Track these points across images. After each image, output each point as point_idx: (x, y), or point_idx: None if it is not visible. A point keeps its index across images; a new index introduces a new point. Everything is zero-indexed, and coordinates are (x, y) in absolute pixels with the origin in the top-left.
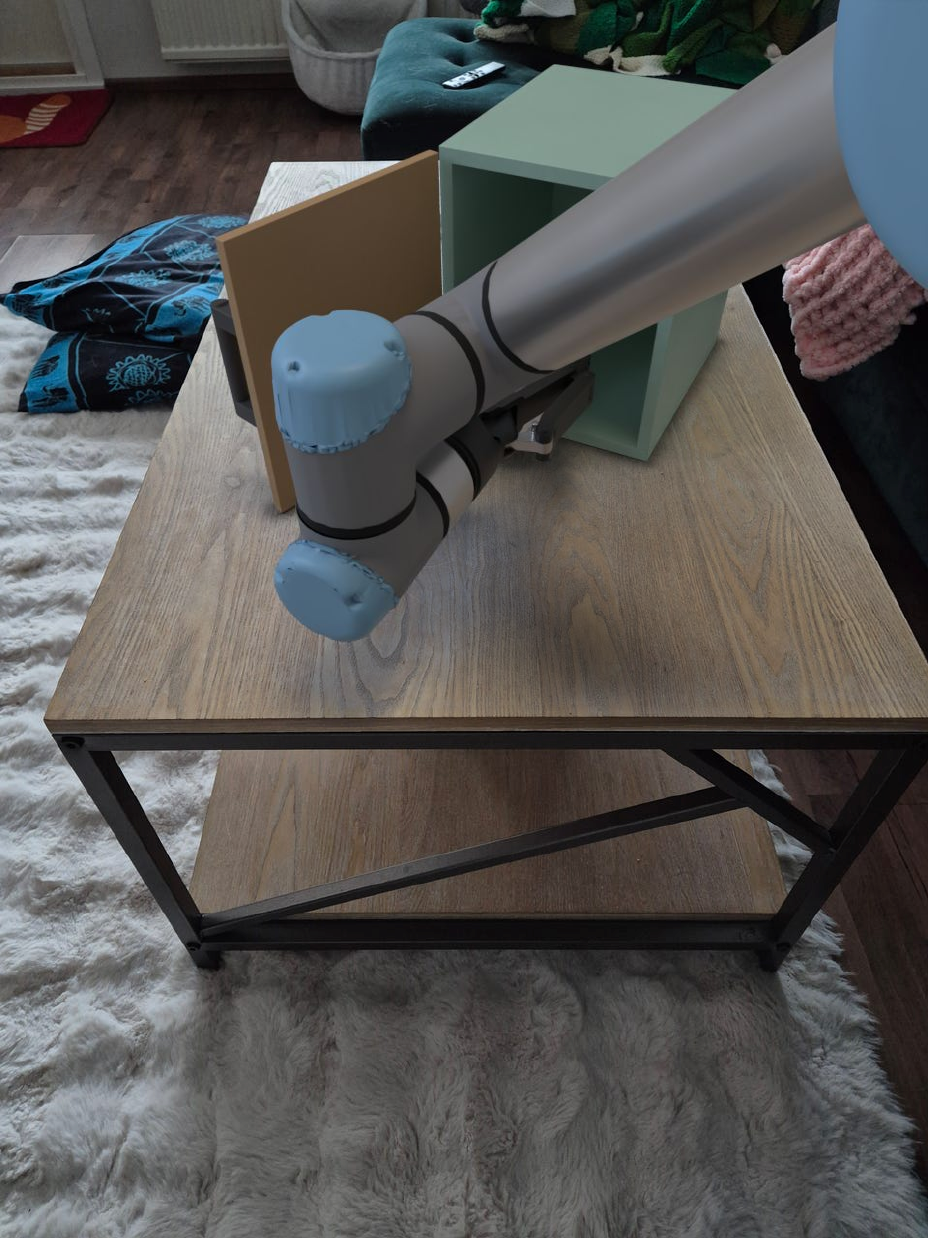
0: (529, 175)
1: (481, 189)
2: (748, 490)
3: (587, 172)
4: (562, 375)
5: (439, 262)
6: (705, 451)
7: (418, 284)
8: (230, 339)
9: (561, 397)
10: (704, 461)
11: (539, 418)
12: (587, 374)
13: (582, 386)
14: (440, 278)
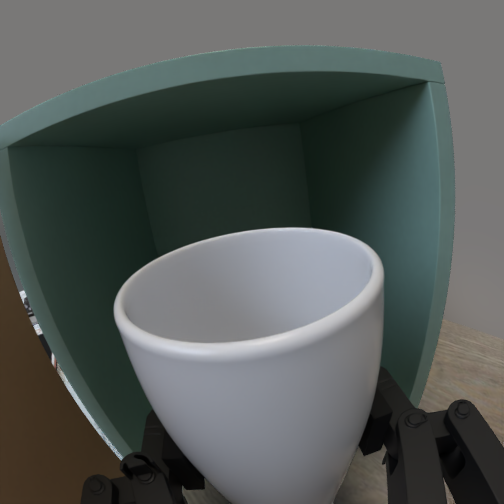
0: (145, 88)
1: (73, 208)
2: (488, 380)
3: (270, 46)
4: (434, 454)
5: (27, 324)
6: (430, 377)
7: (1, 375)
8: None
9: (501, 496)
10: (441, 386)
11: (333, 500)
12: (466, 412)
13: (491, 440)
14: (41, 350)
